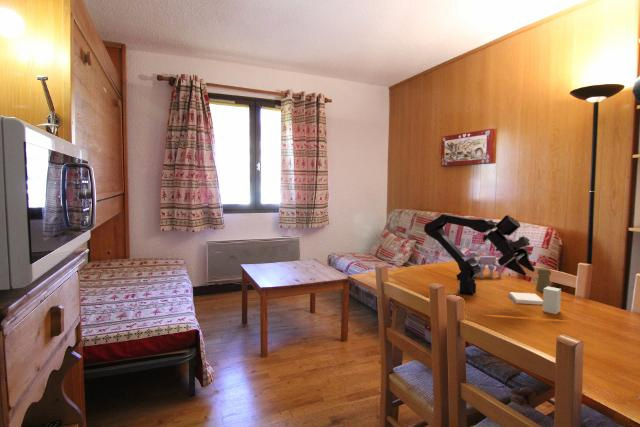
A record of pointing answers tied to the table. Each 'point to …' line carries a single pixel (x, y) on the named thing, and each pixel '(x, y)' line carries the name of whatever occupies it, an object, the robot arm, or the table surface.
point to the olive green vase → (543, 279)
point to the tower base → (521, 303)
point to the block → (551, 300)
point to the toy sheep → (485, 263)
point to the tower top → (526, 298)
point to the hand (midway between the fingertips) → (529, 273)
